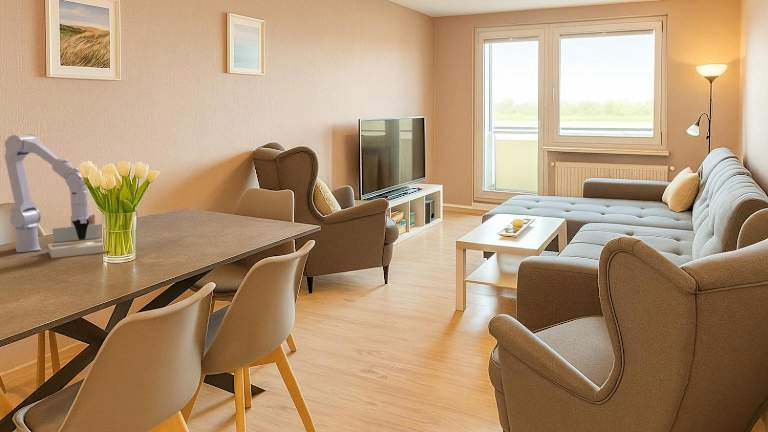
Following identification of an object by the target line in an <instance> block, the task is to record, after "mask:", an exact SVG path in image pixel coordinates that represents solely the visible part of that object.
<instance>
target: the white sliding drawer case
mask: <svg viewBox="0 0 768 432" xmlns="http://www.w3.org/2000/svg"><path fill="white" fill-rule="evenodd" d="M102 239H103V238H100V239H97V240H88V241H77V242H65V243H55V244H53V243H50V244H48V243H47V252H48V254H49V256H50V258H52V259H55V258H65V257H72V256H73V257H74V256H84V255H85V256H86V255H93V254H104V253H103V244H102ZM84 242H94V243H92V244H82V245H72V246H68V244H74V243H84Z"/></svg>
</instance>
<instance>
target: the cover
mask: <svg viewBox="0 0 768 432" xmlns="http://www.w3.org/2000/svg"><path fill="white" fill-rule="evenodd" d="M99 228H100V227H99V224H95V225H88V227H87V231H86V237H85V239H83V240H79V239H78V236H77V232H76V229H75V226H74V227H71V226H65V227H52V238H53V239H52V240H53V242H52V244H57V243H67V242H76V241H86V240H98V239H101V237H100V231H99Z"/></svg>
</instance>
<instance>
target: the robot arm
mask: <svg viewBox="0 0 768 432" xmlns="http://www.w3.org/2000/svg"><path fill="white" fill-rule="evenodd" d="M4 146H5V152H4V153H5V155H4V160H5V164H6V170H7V174H8V177H9V178H8V179H9V184H10V188H11V192H12V198H13V202H14V204H13V205H12V206H11V208H10V218H9V221H10V223H11V225H12V226H13V227H14V229H15V235H16V246H15V250H16V252H17V253H26V252H28V253H29V252H37V251H41V250H42V248H41V246H40V244H39V243H40V242H39V231H38V226H39V223H40V222H41V219H42V215H41V212H40V211H39V209H38V206H37V204H36V203H35V202H33V201H32V198H31V194H30V190H29V185H28V181H27V180H28V179H27V175H26V170H25V166H24V162H23V161H24V159H25V158H26V157H27V155H29V154H31V153H32V154H36V155H37V156H38V157H40V158H41V159H43V160H44V161H45V162H47V163H48V164H50V165H51V169H52V171H53V172H55V173H56V174H58V176H60V177H61V178H63V179H64V180H65V184H66V185H67V187H68V189H69V190H68V191H69V192H70V207H71V216H70V219H71V218H73V219H77V221H72V223H73V224H74V226H75V229H76V232H77V236H78V239H79V240H83V239H85V237H86V231H87V227H88V225H89V220H88V219H87V218H89V217H92V214H93V213H89V201H88V200H89V199H88V198H89V197H88V185H87V186H86V185H85V183H84V179H83V177H82V176H81V174H80V171H81V170H80V171H79V168H78V167H76V166H74V165H73V164H72V163H70V160H69V159H68V158H63V157H61V158H59V157H58V156H56V154H55V153H54V152H53V151H51V149H49V148H48V147H46V146H45V144H43V143H42V142H41V139H40V138H38V137H37V136H35V135H34V134H32V133H28V134H19V135H18V134H12V135H9V136H8V138H6V140H5V141H4Z"/></svg>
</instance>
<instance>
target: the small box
mask: <svg viewBox="0 0 768 432" xmlns="http://www.w3.org/2000/svg"><path fill="white" fill-rule="evenodd" d="M91 214H92V217H89V218H87V219H88V220H89V225H96V219H95V217H96V216H95V213H91ZM72 221H77V219H73V218H71V217H70V227H74V224H73V223H72ZM86 241H88V240H86ZM76 242H77V241H76Z"/></svg>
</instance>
